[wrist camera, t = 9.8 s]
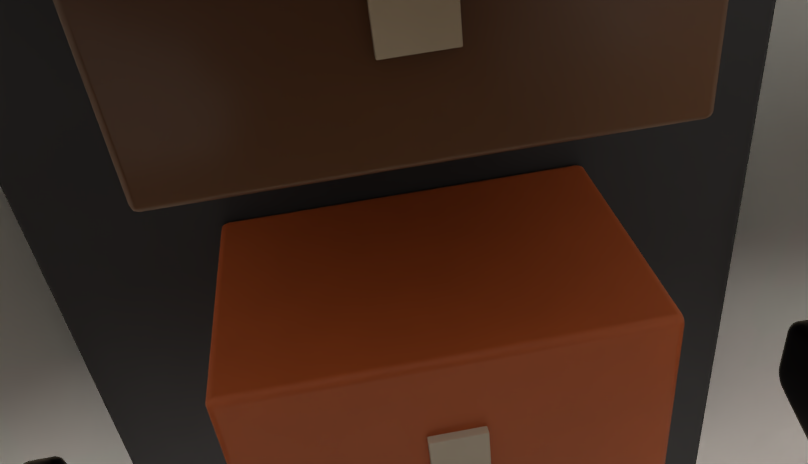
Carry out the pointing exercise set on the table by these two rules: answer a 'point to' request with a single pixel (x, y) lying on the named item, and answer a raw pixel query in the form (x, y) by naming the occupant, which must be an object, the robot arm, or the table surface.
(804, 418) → the robot arm
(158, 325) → the word mat
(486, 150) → the brown wooden block
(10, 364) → the table surface
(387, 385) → the orange block
